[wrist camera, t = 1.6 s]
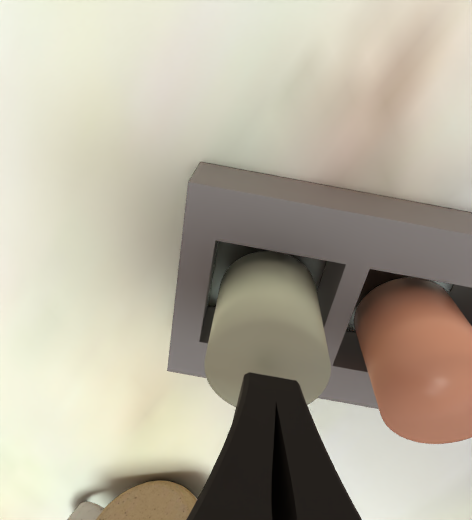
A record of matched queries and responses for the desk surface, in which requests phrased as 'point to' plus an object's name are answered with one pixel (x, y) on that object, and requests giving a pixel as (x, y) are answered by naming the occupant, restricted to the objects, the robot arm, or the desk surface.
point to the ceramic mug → (142, 504)
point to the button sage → (267, 327)
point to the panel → (313, 256)
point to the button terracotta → (418, 359)
